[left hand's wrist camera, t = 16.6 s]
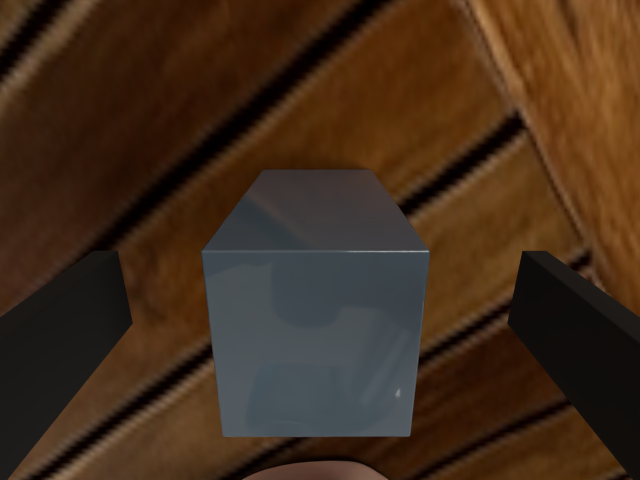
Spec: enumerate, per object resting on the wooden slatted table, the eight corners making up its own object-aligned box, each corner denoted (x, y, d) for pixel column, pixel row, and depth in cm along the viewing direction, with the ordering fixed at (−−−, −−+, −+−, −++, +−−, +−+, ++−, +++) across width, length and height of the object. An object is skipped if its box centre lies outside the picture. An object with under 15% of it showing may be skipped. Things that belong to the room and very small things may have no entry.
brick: (366, 274, 21) (410, 437, 11) (268, 275, 21) (222, 438, 11) (371, 169, 19) (431, 250, 9) (262, 169, 19) (199, 250, 9)
